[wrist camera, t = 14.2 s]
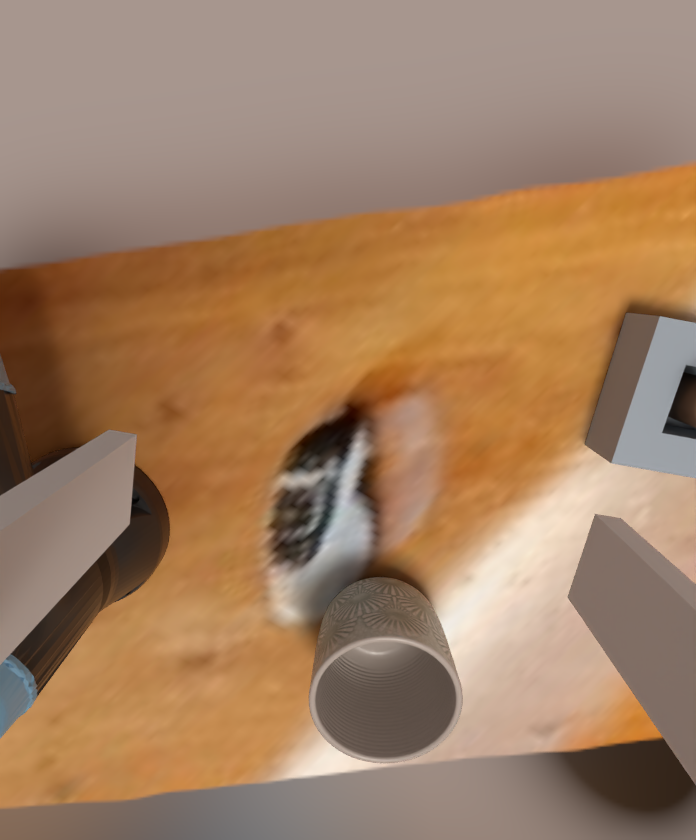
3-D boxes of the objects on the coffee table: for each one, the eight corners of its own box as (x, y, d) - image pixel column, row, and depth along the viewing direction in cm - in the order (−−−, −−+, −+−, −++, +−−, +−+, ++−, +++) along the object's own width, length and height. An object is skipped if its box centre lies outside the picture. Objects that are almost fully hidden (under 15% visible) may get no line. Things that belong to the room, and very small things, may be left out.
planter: (379, 538, 50) (386, 608, 39) (466, 617, 52) (495, 702, 41) (292, 618, 52) (276, 703, 42) (378, 690, 54) (385, 788, 44)
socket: (584, 444, 47) (611, 463, 42) (626, 312, 44) (660, 316, 39) (710, 467, 48) (751, 488, 43) (760, 337, 45) (810, 344, 40)
